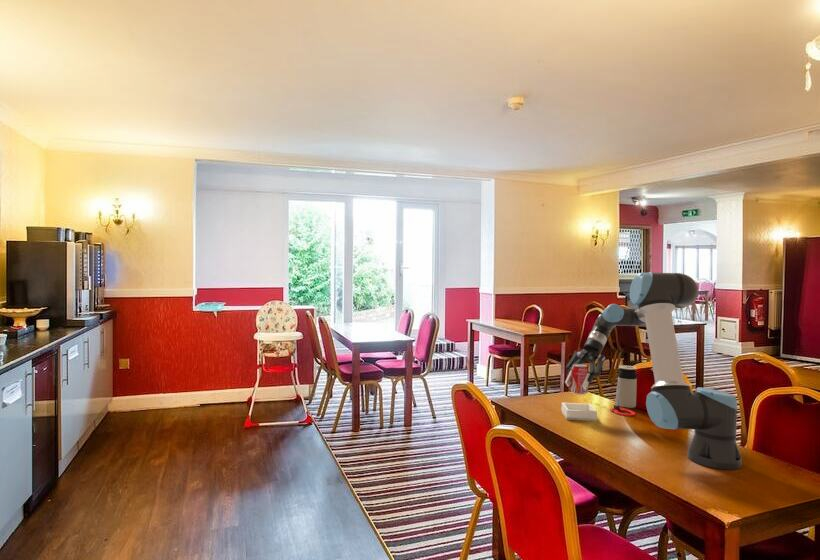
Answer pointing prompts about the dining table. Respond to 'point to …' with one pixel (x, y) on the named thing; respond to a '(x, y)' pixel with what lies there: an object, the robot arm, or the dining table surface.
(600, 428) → the dining table surface
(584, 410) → the open white tray
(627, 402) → the travel mug
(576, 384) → the soda can
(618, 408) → the tow hook
